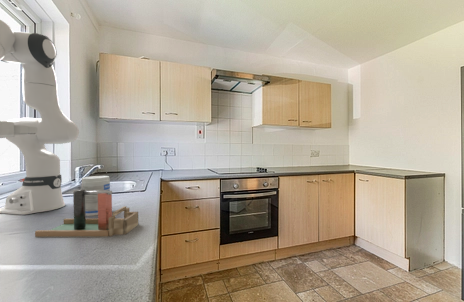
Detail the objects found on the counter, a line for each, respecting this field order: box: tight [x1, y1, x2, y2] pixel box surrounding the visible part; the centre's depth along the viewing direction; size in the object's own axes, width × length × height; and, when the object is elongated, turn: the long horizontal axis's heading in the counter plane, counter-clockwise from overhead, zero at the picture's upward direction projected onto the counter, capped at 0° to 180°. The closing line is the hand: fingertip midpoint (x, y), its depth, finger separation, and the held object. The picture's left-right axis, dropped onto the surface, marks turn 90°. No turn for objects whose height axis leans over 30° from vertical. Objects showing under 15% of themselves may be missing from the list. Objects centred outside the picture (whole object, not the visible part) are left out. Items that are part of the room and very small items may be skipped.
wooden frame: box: [108, 205, 139, 237], centre depth 66 cm, size 4×11×7 cm, turn 179°
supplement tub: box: [80, 175, 111, 217], centre depth 84 cm, size 10×10×15 cm
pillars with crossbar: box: [72, 188, 113, 230], centre depth 66 cm, size 12×3×12 cm, turn 90°
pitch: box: [34, 217, 124, 238], centre depth 67 cm, size 21×11×2 cm, turn 90°
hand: (36, 130), depth 65 cm, fingers open, 8 cm apart
